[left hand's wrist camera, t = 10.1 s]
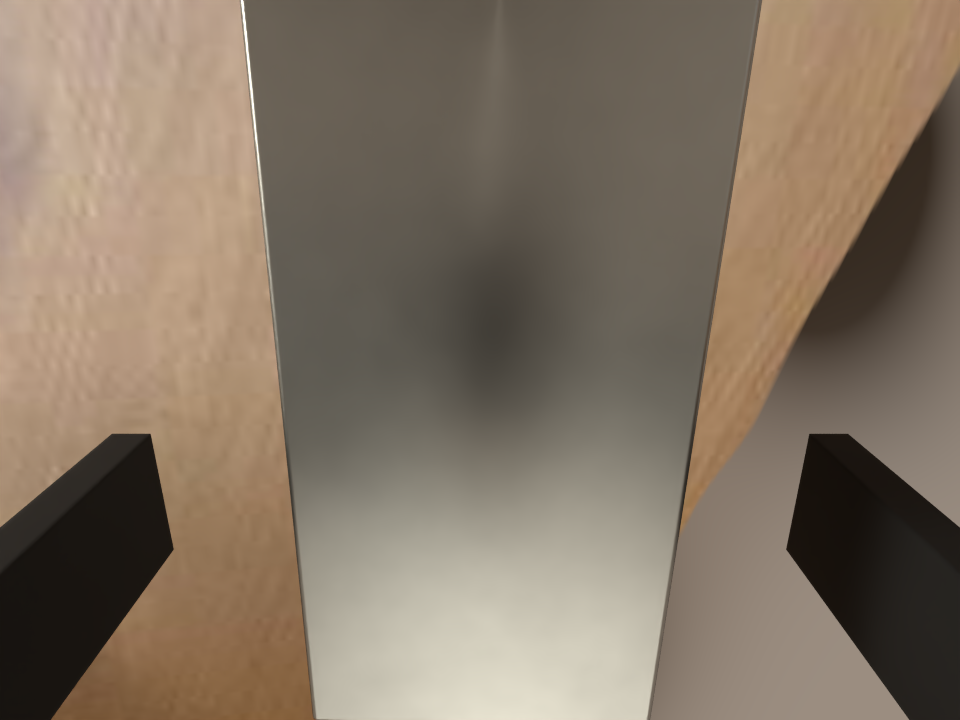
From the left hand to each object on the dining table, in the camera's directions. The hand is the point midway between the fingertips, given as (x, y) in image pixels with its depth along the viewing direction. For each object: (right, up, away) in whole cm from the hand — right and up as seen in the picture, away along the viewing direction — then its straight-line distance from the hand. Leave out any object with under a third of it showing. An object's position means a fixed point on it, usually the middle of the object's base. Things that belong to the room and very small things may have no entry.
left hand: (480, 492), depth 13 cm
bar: (0, +9, +1) cm, 9 cm away
